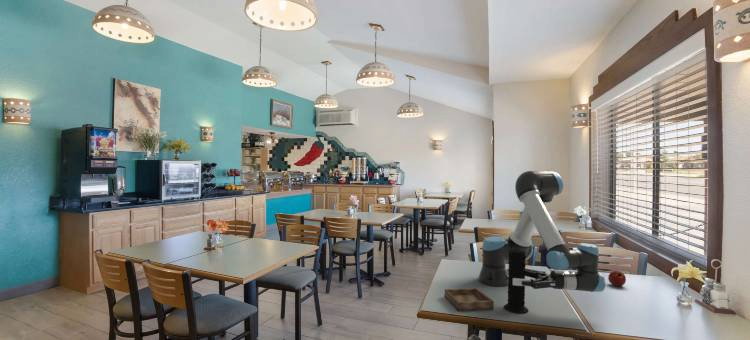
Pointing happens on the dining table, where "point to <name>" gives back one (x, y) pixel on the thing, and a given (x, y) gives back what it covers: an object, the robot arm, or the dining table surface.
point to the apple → (617, 278)
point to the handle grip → (515, 292)
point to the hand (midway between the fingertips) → (509, 276)
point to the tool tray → (468, 299)
